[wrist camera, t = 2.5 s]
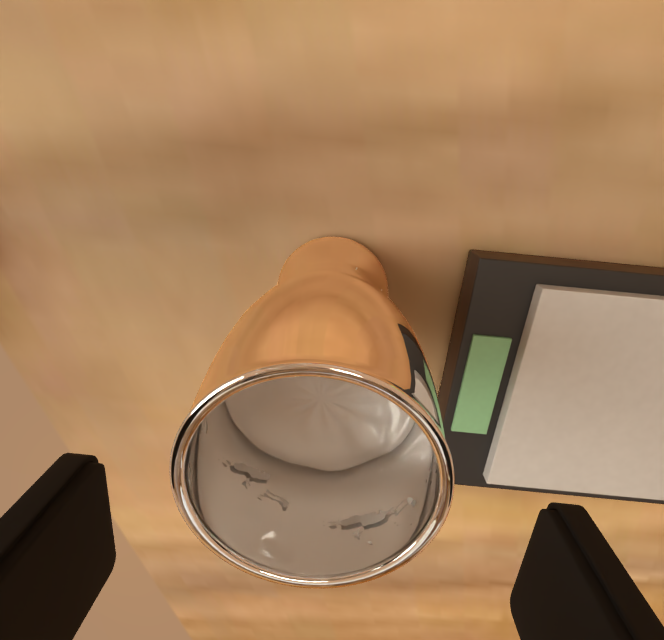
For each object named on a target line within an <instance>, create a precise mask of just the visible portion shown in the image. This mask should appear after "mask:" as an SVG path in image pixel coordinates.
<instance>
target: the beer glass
mask: <svg viewBox="0 0 664 640" xmlns="http://www.w3.org/2000/svg"><path fill="white" fill-rule="evenodd" d="M170 482H171V488H172V492H173V496H174V499H175V502H176V504H177V507H178V509H179V511H180V513H181V515H182V517H183V519H184V521H185V522H186V524H187V525H188V527H189V528H190V529H191V531H192V532H193V533H194V534H195V536H196V537H197V538H198V539H199V540H200V541H201V542H202V543H203V544H204V545H205V546H206V547H207V548H208V549H209V550H211V551H212V552H213V553H214V554H215V555H217V556H218V557H220V558H221V559H222V560H224V561H225V562H227V563H229V564H230V565H232V566H234V567H235V568H237V569H239V570H241V571H243V572H246V573H248V574H250V575H252V576H255V577H258V578H261V579H264V580H267V581H270V582H274V583H278V584H282V585H287V586H294V587H303V588H336V587H344V586H350V585H355V584H360V583H364V582H367V581H371V580H374V579H377V578H379V577H382V576H384V575H386V574H389V573H391V572H393V571H395V570H396V569H398V568H400V567H402V566H403V565H405V564H407V563H408V562H409V561H411V560H412V559H414V558H415V557H416V556H417V555H418V554H420V553H421V552H422V551H423V550H424V549H425V548H426V547H427V546H428V545H429V544H430V543H431V541H432V540H433V539H434V538H435V536H436V535H437V534H438V532H439V531H440V529H441V527H442V526H443V524H444V522H445V520H446V518H447V516H448V513H449V510H450V507H451V504H452V500H453V494H454V467H453V461H452V457H451V453H450V450H449V447H448V445H447V443H446V438H445V433H444V428H443V422H442V417H441V412H440V408H439V403H438V399H437V394H436V390H435V386H434V383H433V379H432V376H431V373H430V369H429V366H428V363H427V360H426V357H425V355H424V353H423V350H422V348H421V346H420V344H419V342H418V339H417V337H416V335H415V333H414V331H413V329H412V327H411V326H410V324H409V323H408V321H407V320H406V319H405V317H404V316H403V315H402V313H401V312H400V310H399V309H398V308H397V306H396V305H395V304H394V303H393V302H392V301H391V300H390V299H389V298H388V283H387V277H386V274H385V271H384V269H383V267H382V265H381V263H380V262H379V260H378V259H377V258H376V256H375V255H374V254H373V253H372V252H371V251H370V250H369V249H367V248H366V247H365V246H363V245H362V244H360V243H358V242H356V241H353V240H351V239H347V238H343V237H322V238H317V239H314V240H311V241H309V242H307V243H305V244H303V245H301V246H300V247H299V248H297V249H296V250H295V251H294V252H293V253H292V254H291V255H290V256H289V257H288V259H287V260H286V262H285V263H284V265H283V267H282V269H281V272H280V275H279V279H278V285H276V286H275V287H273V288H272V289H270V290H269V291H268V292H266V293H265V294H264V295H263V296H262V297H261V298H259V299H258V300H257V301H256V302H255V303H254V304H253V305H252V306H250V307H249V308H248V309H247V311H246V312H245V313H244V314H243V315H242V317H241V318H240V319H239V320H238V322H237V323H236V324H235V326H234V327H233V328H232V330H231V331H230V332H229V334H228V335H227V337H226V338H225V340H224V342H223V343H222V345H221V347H220V349H219V351H218V352H217V354H216V356H215V358H214V359H213V361H212V363H211V365H210V367H209V369H208V371H207V373H206V376H205V378H204V380H203V382H202V384H201V386H200V388H199V391H198V393H197V395H196V398H195V400H194V402H193V405H192V407H191V409H190V411H189V414H188V415H187V417H186V418H185V420H184V421H183V423H182V425H181V426H180V428H179V430H178V433H177V435H176V437H175V440H174V444H173V447H172V451H171V457H170Z"/></svg>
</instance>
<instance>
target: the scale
mask: <svg viewBox="0 0 664 640" xmlns="http://www.w3.org/2000/svg"><path fill="white" fill-rule="evenodd" d="M438 403H439V408H440V412H441V417H442V422H443V428H444V433H445V438H446V443H447V445H448V447H449V450H450V453H451V457H452V461H453V467H454V484H458V485H468V486H479V487H489V488H500V489H510V490H521V491H531V492H542V493H552V494H563V495H573V496H584V497H594V498H605V499H615V500H626V501H636V502H647V503H657V504H664V268H659V267H648V266H638V265H627V264H617V263H606V262H596V261H585V260H575V259H564V258H554V257H543V256H533V255H522V254H512V253H501V252H491V251H480V250H470V251H469V255H468V260H467V264H466V269H465V274H464V278H463V283H462V288H461V293H460V297H459V302H458V307H457V311H456V316H455V321H454V326H453V330H452V335H451V340H450V344H449V349H448V354H447V359H446V363H445V368H444V373H443V378H442V382H441V387H440V392H439V396H438Z"/></svg>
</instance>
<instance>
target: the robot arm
mask: <svg viewBox="0 0 664 640" xmlns="http://www.w3.org/2000/svg"><path fill="white" fill-rule="evenodd" d="M115 558H116V551H115V543H114V535H113V528H112V520H111V512H110V505H109V497H108V489H107V481H106V474H105V468H104V465H103V464H101V463H98V459H97V458H96V457H95V456H93V455H84V454H74V453H66V454H63V455H62V456H61V457H59V459H58V460H57V461H56V462H55V463H54V464H53V465H52V466H51V467H50V468H49V469H48V470H47V471H46V472H45V473H44V474H43V475H42V476H41V477H40V478H39V479H38V480H37V481H36V482H35V483H34V484H33V485H32V486H31V487H30V488H29V489H28V490H27V491H26V492H25V493H24V494H23V495H22V496H21V498H20V499H19V500H18V501H17V502H16V503H15V504H14V505H13V506H12V507H11V508H10V509H9V510H8V511H7V512H6V513H5V514H4V515H3V516H2V517H1V518H0V640H72V639H73V638H74V636H75V634H76V632H77V631H78V629H79V627H80V626H81V624H82V622H83V620H84V618H85V617H86V615H87V613H88V612H89V610H90V608H91V606H92V605H93V603H94V601H95V600H96V598H97V596H98V594H99V593H100V591H101V589H102V587H103V586H104V584H105V582H106V581H107V579H108V577H109V575H110V574H111V572H112V569H113V567H114V563H115ZM510 607H511V613H512V616H513V619H514V622H515V625H516V628H517V631H518V633H519V636H520V639H521V640H664V627H663V625H662V624H661V622H660V621H659V619H658V618H657V616H656V615H655V613H654V612H653V610H652V609H651V607H650V606H649V604H648V603H647V601H646V600H645V598H644V597H643V595H642V594H641V592H640V591H639V589H638V588H637V586H636V585H635V583H634V582H633V580H632V579H631V577H630V576H629V574H628V573H627V571H626V570H625V568H624V567H623V565H622V564H621V562H620V561H619V559H618V558H617V556H616V555H615V553H614V552H613V550H612V548H611V547H610V545H609V544H608V542H607V541H606V539H605V538H604V536H603V535H602V533H601V532H600V530H599V529H598V527H597V526H596V524H595V523H594V521H593V520H592V518H591V517H590V515H589V514H588V512H587V511H586V510H585V509H584V507H582V506H580V505H573V504H563V503H550V504H549V505H548V507H547V509H542V510H541V511H540V513H539V515H538V518H537V521H536V524H535V527H534V529H533V532H532V535H531V538H530V541H529V544H528V547H527V550H526V553H525V556H524V558H523V561H522V564H521V567H520V570H519V573H518V576H517V579H516V582H515V584H514V587H513V590H512V593H511V597H510Z"/></svg>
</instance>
